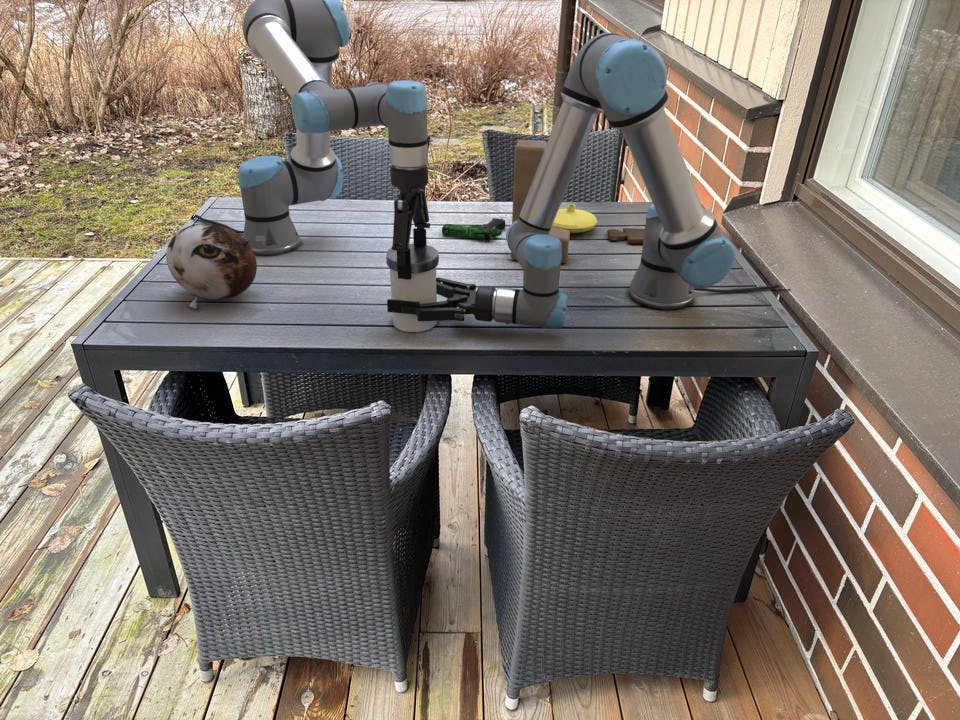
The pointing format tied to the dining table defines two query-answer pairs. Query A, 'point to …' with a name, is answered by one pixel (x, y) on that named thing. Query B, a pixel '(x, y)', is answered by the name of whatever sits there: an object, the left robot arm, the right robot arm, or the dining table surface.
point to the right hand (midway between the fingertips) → (395, 295)
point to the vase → (574, 220)
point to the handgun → (476, 230)
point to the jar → (413, 298)
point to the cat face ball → (211, 261)
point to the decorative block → (524, 172)
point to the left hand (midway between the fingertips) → (412, 267)
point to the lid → (416, 258)
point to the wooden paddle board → (627, 235)
